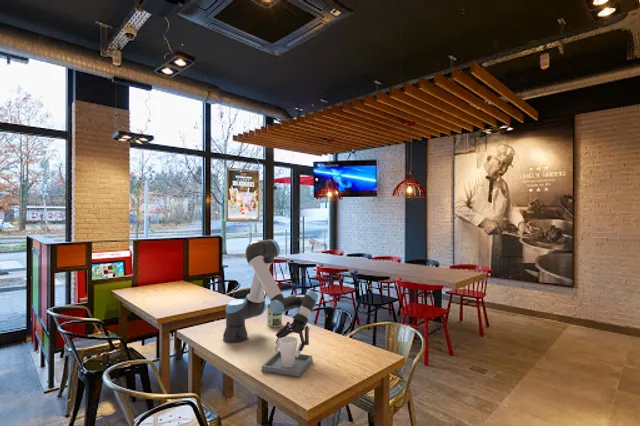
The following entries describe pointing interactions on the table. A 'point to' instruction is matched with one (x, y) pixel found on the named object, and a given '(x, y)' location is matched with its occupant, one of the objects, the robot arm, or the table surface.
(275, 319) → the coffee can
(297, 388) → the table surface
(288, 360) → the foam cup
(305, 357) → the tray
